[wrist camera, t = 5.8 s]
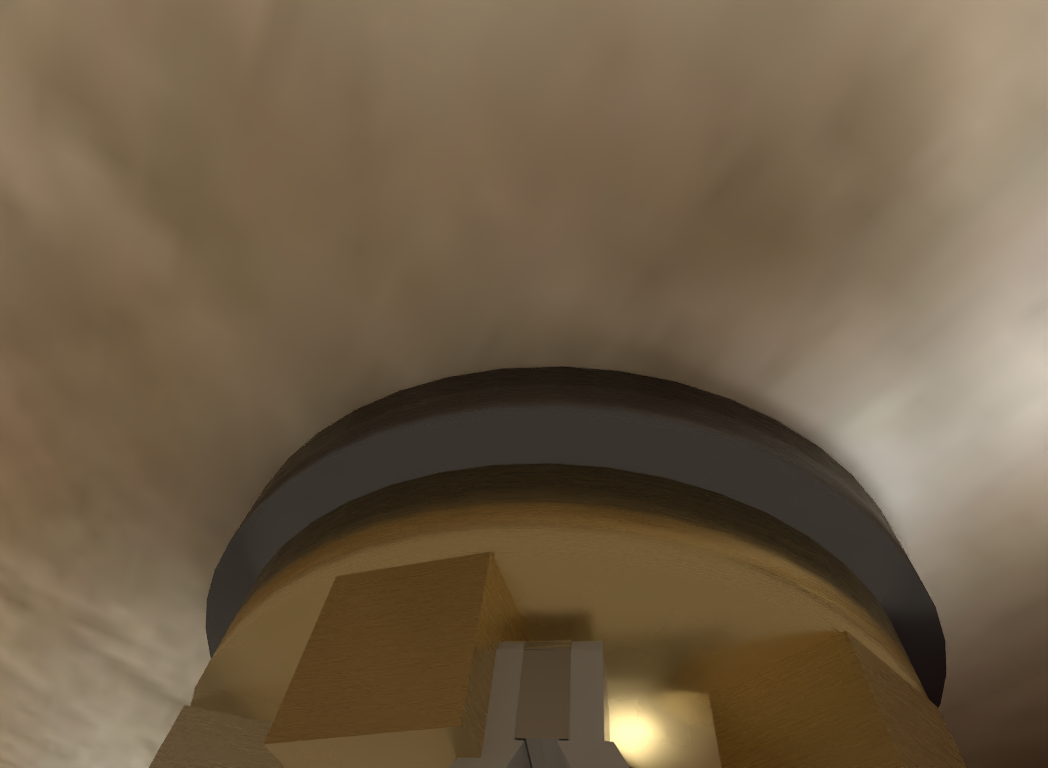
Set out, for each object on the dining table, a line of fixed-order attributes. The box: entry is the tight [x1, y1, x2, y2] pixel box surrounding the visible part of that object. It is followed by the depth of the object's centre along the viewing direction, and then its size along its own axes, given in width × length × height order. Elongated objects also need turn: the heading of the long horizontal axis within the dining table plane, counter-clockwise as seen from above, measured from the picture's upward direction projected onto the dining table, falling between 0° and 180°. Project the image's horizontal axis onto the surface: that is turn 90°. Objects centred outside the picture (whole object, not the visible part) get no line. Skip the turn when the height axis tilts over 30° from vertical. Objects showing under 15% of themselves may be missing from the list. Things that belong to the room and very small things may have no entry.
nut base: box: [206, 367, 946, 708], centre depth 18 cm, size 20×20×2 cm
